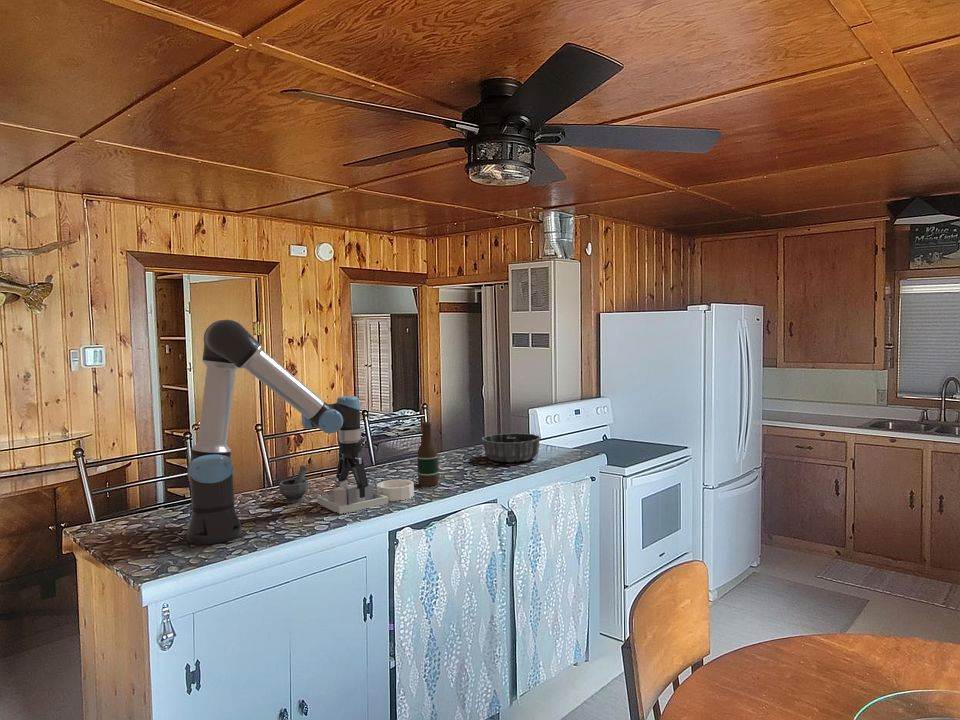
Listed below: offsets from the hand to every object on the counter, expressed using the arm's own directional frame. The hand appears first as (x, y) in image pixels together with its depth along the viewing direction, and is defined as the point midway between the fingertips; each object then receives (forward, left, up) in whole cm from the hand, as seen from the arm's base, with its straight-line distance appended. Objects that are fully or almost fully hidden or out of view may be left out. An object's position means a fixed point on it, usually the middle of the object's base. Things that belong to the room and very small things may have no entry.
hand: (352, 503), depth 225 cm
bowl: (+16, -2, 0) cm, 16 cm away
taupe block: (-5, 0, 0) cm, 5 cm away
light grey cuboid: (+5, 0, 0) cm, 5 cm away
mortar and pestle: (-13, +18, 0) cm, 22 cm away
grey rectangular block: (0, 0, 0) cm, 0 cm away
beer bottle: (+34, +4, 0) cm, 34 cm away
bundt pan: (+87, +17, -1) cm, 89 cm away
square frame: (0, 0, 0) cm, 0 cm away
